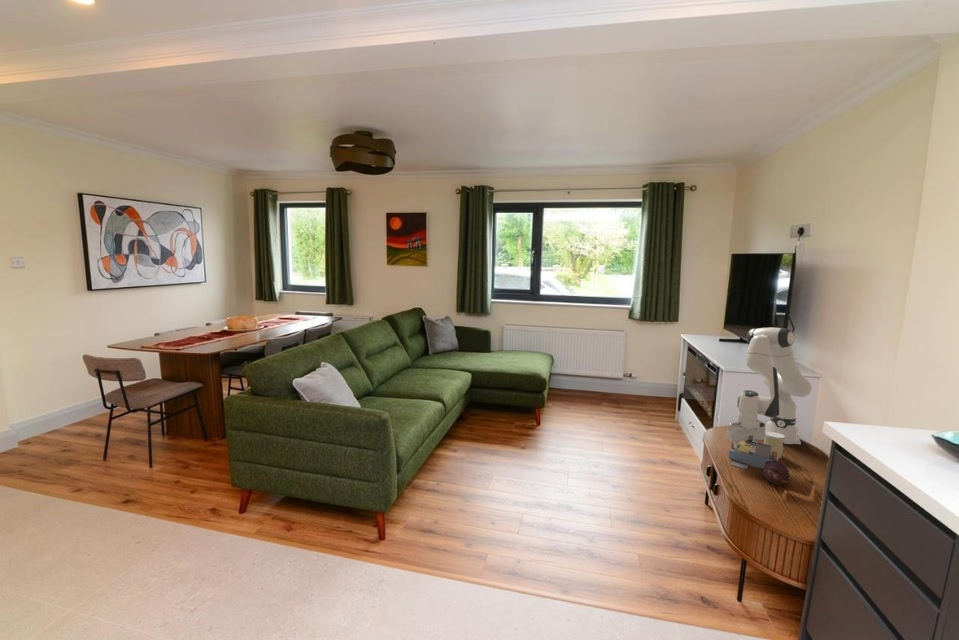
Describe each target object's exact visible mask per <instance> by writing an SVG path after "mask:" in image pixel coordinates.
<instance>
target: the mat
mask: <svg viewBox="0 0 959 640" xmlns="http://www.w3.org/2000/svg"><path fill="white" fill-rule="evenodd" d="M730 466H732V467H735V468H739V469H741V470H748V469H749V467H750V465H748V464H745V463H742V462H739V461H736V460H732V462H731V463H730Z"/></svg>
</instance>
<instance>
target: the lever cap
mask: <svg viewBox="0 0 959 640" xmlns="http://www.w3.org/2000/svg"><path fill="white" fill-rule="evenodd" d="M737 445H739V448H738V451H739V452H743V453H746V454H749V453H750V452H751V450H752V448H751V446H752V445H750V444H746V443H745V441H739V443H737Z"/></svg>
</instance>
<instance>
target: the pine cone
mask: <svg viewBox="0 0 959 640" xmlns="http://www.w3.org/2000/svg"><path fill="white" fill-rule="evenodd" d="M762 471H763V472H762V473H763V475H764V478H765V479H766V480H767V481H769V482H770V483H772V484H775V485H777V486H778V485H783V484H787V483H788V482H790V479H789V478H790V471H789V468H788V467H787V465H784V463H782V462H781V461H779V460H778V461H776V460H775V461H774V460H773V461H767V462H766V463H765V465H764V468H763V469H762Z"/></svg>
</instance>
